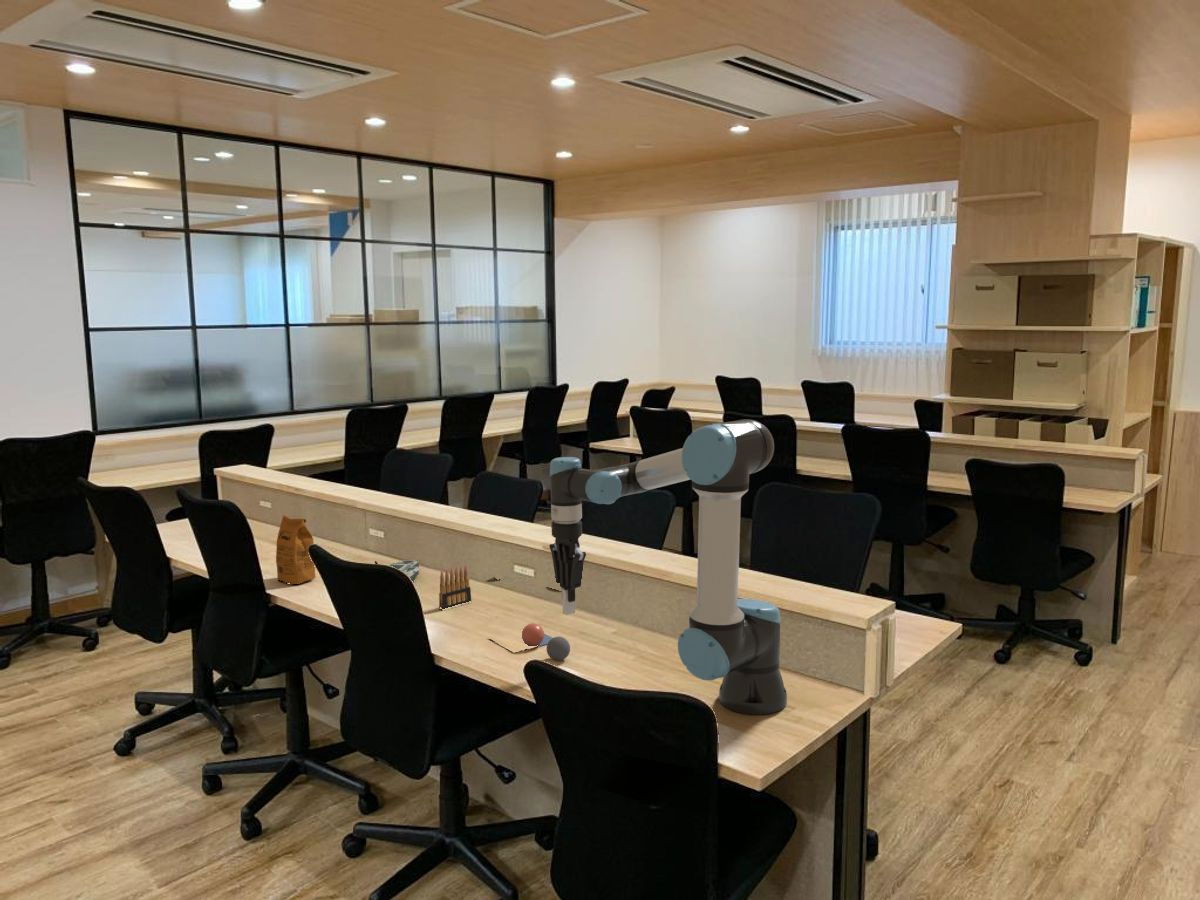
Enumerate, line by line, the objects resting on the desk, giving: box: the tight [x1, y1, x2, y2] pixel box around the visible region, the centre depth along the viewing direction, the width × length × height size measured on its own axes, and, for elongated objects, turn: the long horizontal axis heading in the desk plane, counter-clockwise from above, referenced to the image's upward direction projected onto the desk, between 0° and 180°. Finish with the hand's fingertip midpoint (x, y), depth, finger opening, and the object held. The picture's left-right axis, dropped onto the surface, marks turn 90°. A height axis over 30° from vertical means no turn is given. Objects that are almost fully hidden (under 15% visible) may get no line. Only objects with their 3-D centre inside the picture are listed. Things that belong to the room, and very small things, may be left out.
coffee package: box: [275, 514, 316, 585], centre depth 306 cm, size 10×12×22 cm
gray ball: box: [546, 636, 571, 661], centre depth 233 cm, size 6×6×6 cm
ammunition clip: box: [438, 564, 472, 609], centre depth 277 cm, size 11×2×12 cm, turn 135°
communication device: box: [374, 559, 420, 583], centre depth 309 cm, size 12×24×9 cm, turn 176°
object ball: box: [522, 622, 545, 646], centre depth 244 cm, size 6×6×6 cm
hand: (568, 613), depth 228 cm, fingers closed
